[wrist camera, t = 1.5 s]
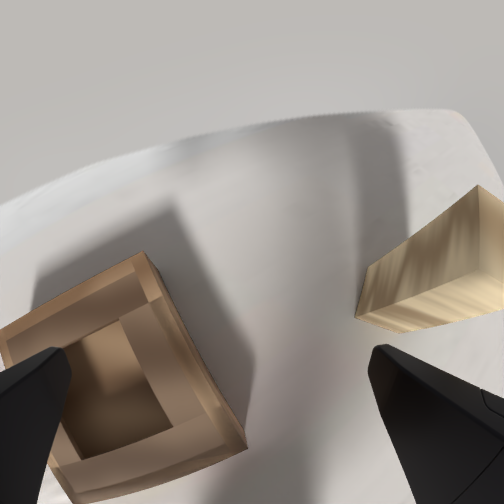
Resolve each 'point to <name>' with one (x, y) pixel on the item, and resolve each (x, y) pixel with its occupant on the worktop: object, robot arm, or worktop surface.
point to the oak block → (441, 270)
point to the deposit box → (126, 386)
